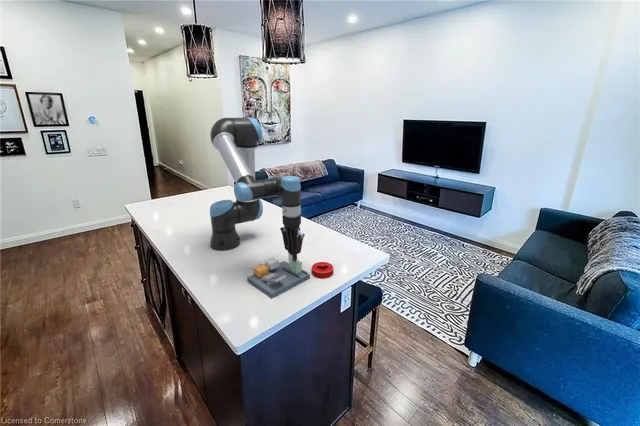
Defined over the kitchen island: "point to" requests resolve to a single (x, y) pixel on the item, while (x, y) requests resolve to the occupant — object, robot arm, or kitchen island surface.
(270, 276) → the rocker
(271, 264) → the button
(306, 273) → the panel
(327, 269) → the decorative ornament
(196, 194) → the kitchen island surface
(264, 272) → the button
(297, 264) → the pale green block
